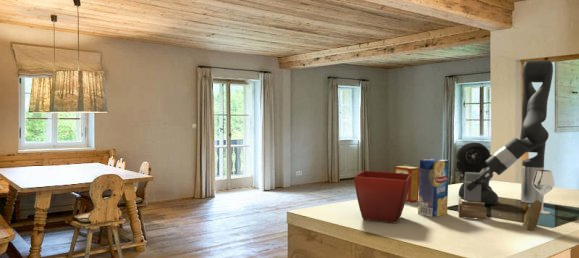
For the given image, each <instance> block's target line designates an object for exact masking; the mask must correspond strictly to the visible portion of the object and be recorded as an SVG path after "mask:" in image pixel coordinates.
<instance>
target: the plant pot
mask: <svg viewBox="0 0 579 258" xmlns="http://www.w3.org/2000/svg"><path fill="white" fill-rule="evenodd" d="M353 178H354V186H355V192H356V198H357V202H358V207H359V211H360V215H361V217H362V219H363V220H365V221H374V222H382V223H393V224H397V223H398V221H399V220H400V218H401V216H402V215H403V210H404V208H405V204H406V202H405V201H406V198H407V194H408V190H409V185H410V179H411V174H403V173H394V172H389V171H388V172H387V171H375V170H373V171H372V170H362V171H360V172H359V173H357V174H355V175H354V177H353Z"/></svg>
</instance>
